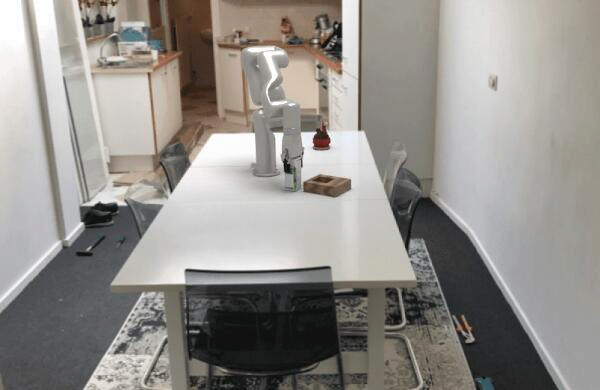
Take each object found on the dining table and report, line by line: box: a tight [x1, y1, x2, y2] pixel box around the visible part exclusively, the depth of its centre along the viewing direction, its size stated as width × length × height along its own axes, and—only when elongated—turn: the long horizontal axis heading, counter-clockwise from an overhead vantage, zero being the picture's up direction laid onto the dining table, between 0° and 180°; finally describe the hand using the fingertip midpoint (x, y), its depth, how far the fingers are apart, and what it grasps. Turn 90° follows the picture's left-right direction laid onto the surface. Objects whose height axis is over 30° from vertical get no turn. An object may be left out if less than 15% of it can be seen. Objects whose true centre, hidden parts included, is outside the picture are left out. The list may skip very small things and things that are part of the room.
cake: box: [312, 115, 332, 151], centre depth 356 cm, size 11×9×18 cm
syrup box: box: [283, 156, 302, 192], centre depth 285 cm, size 6×6×14 cm
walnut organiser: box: [302, 173, 352, 198], centre depth 284 cm, size 16×14×4 cm
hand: (293, 169), depth 284 cm, fingers open, 9 cm apart
